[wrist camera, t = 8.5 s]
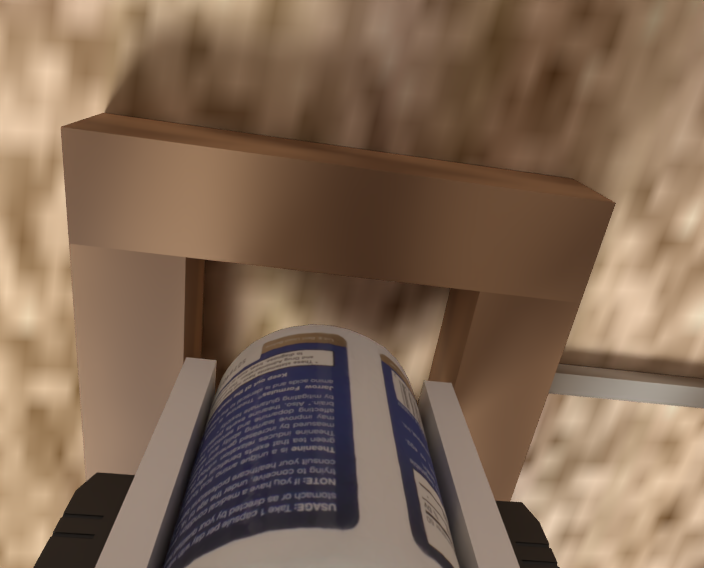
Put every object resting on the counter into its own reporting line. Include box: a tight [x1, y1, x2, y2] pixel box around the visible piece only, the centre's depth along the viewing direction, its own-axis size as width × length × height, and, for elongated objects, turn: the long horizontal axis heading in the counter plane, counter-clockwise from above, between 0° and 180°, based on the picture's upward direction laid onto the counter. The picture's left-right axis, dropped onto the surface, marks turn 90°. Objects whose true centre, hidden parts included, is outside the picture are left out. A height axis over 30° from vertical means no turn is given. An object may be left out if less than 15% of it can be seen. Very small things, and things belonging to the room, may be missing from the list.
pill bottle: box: [163, 324, 460, 568], centre depth 10 cm, size 5×5×10 cm
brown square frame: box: [61, 113, 704, 502], centre depth 17 cm, size 27×13×2 cm, turn 82°
